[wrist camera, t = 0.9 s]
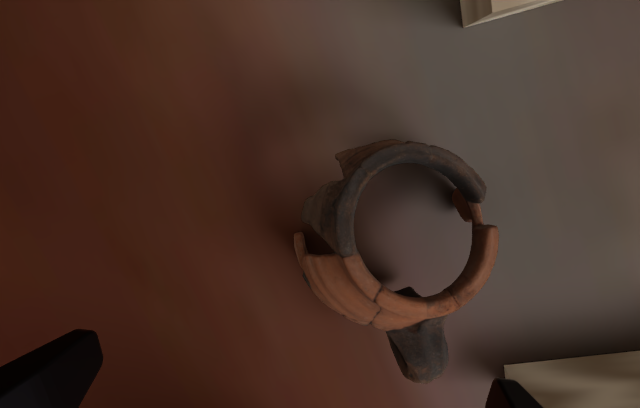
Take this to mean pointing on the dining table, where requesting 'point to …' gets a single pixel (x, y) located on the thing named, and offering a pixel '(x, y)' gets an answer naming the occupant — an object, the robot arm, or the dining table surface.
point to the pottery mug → (362, 287)
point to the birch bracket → (571, 373)
